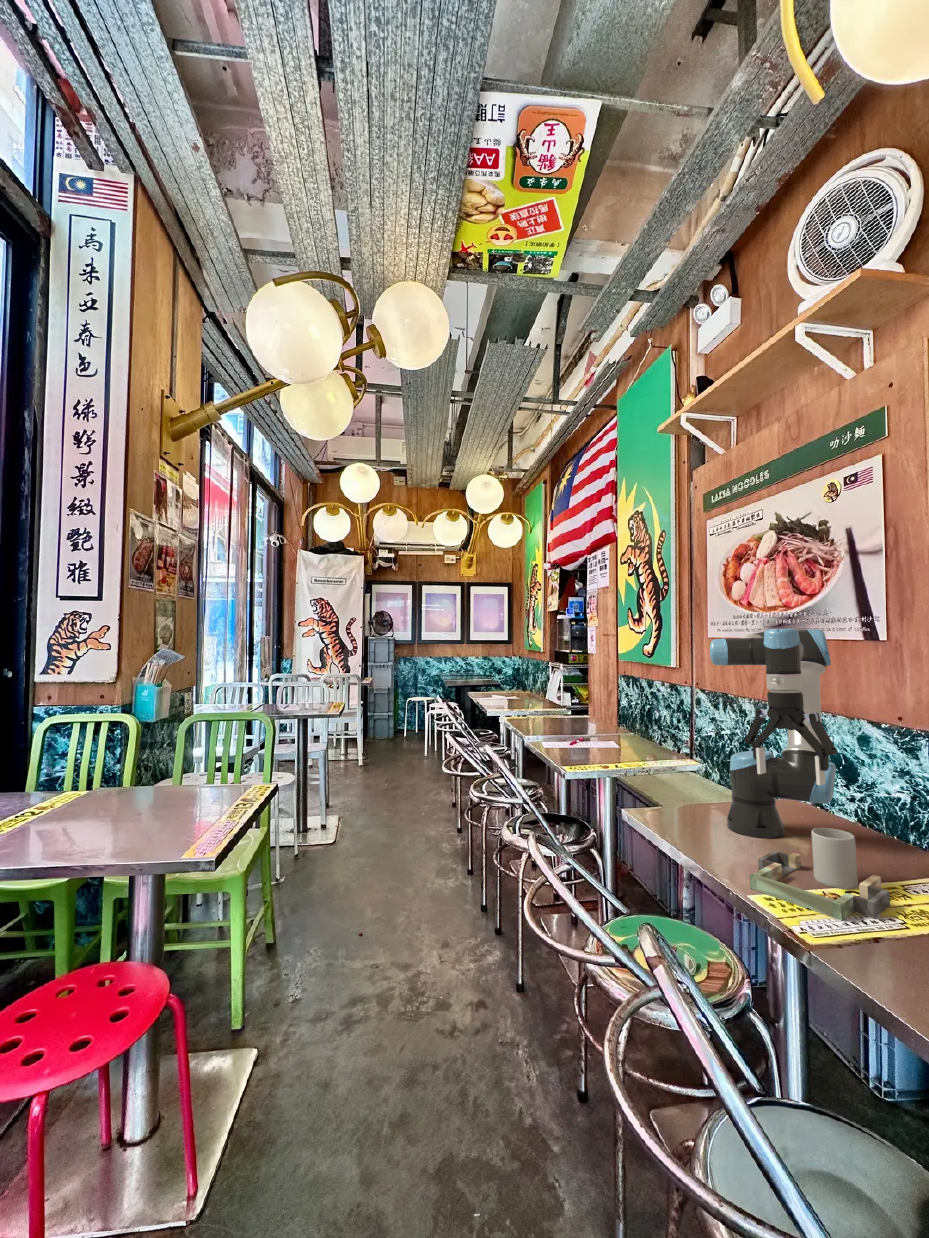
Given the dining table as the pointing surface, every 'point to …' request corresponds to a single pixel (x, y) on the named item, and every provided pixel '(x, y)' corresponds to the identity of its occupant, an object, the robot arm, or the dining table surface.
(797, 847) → the dining table surface
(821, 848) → the mug
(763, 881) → the grey-green u-shaped bracket
